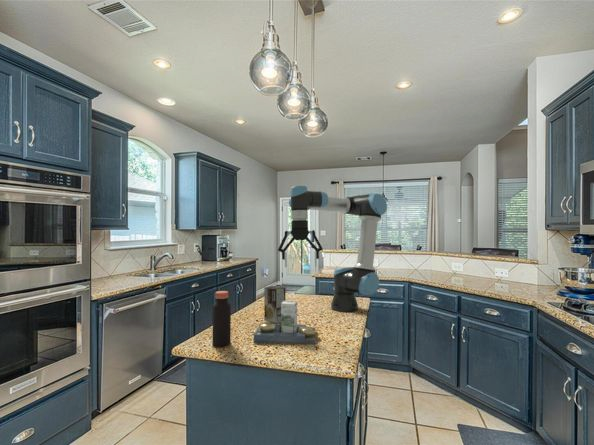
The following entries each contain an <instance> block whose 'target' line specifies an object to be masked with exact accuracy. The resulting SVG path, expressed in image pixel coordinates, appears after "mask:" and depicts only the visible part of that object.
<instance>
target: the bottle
mask: <svg viewBox="0 0 594 445" xmlns="http://www.w3.org/2000/svg"><path fill="white" fill-rule="evenodd" d="M214 294H215V303H213V304H212V346H213V347H215V348H224V347H228V346H230V345H231V340H232V339H231V336H232V334H231V333H232V332H231V331H232V330H231V329H232V328H231V326H232V325H231V322H232V321H231V320H232V319H231V318H232V314H231V310H232V305H231V303H230V301H228V299H229V290H228V291H227V290H219V291H218V290H217V291H215V293H214Z"/></svg>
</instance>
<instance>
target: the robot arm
mask: <svg viewBox="0 0 594 445" xmlns="http://www.w3.org/2000/svg"><path fill="white" fill-rule="evenodd" d="M289 196H290V197H289V199H288V205H289V207H290V210H291V211H290V218H291V219H290V220H291V231H288V230H285V231H284V236H283V239H282V240H281V242H280V245H279V247H278V248H277V251H278V252H280V253H281V256H282V257H281V258H282V260H284V268H287V267H288V260H287V259H288V258H287V256H288V254H287V251H288V250H287V249H288V248H290V246H291V245H292V243H293V242H294V241H304V240H306V242H308V244H309V245H310V246H311V247H312V248H313V249H314V250H315V251H314V267H317V266H318V264H317V260H319V258H320V251H323V247H322V245H321V243H320V241H319V239H318V237H317V235H316V231H315V229H312V230H309V221H308V219H309V218H308V216H309V215H308V212H309V210H315V211H327V212H339V213H341V214H343V215H352V216H358V217H359V219H360V221H361V224H360V231H359V232H360V234H359V241H358V242H359V243H358V250H357V251H358V252H357V256H356V257H357V260H356V264H354V266H351V267H350V266H348V267H338V268H335V269H334V270H333V297H332V300H331V303H330V308H331V310H333V311H336V312H341V313H342V312H347V313H350V312H356V311H358V310H359V303H358V300H357V298H356V293H357V294H360V295H365V296H366V295H367V296H370V295H373V294H374V293H375V292H376V291H378V288H379V286H380V277H379V275H378V274H377V273H376V268H375V267H374V260H375V250H376V242H377V231H378V223H379V222H380V221H381V220H382V215H385V213H387V209H388V204H387V201H386V199H385V197H384V195H382V194H381V193H372V192H371V193H367V194H361V195H359V194H357V195H353V196H342V197H333V196H328V194H327V193H326V192H325V191H321V190H319V191H311V190H308V187H307V186H306V185H294V186H291V188H290V195H289ZM309 234H310V236H312V237H313V239H314V240H315V242H316V244H317V246H316V245H315V243H313V241H312V240H311V239H310V238H309ZM290 235H291V236H292V237H291V239H290V240H289V241H288V243H287V244H286V245H285V243H286V240H287V238H288V236H290ZM284 245H285V246H284ZM283 247H284V248H283Z"/></svg>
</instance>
